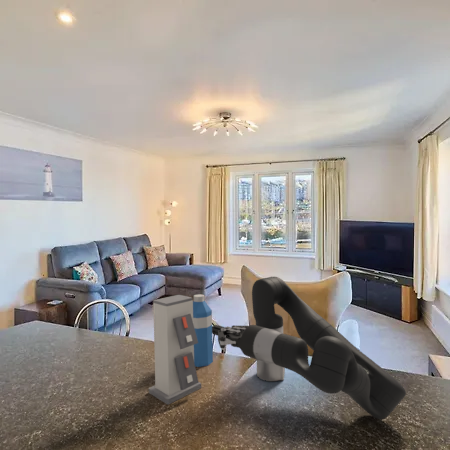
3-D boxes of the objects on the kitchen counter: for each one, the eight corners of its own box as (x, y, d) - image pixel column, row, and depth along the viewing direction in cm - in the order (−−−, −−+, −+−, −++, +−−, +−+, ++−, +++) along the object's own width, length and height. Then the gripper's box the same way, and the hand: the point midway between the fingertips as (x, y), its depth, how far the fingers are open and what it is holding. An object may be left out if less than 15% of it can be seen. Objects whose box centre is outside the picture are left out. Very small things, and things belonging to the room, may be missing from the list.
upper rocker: (180, 349, 97) (172, 318, 99) (195, 343, 101) (188, 314, 104) (183, 348, 96) (175, 317, 98) (198, 342, 100) (190, 313, 103)
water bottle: (214, 356, 129) (213, 292, 129) (211, 367, 120) (209, 298, 120) (190, 356, 130) (189, 292, 130) (185, 366, 121) (184, 298, 121)
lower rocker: (180, 389, 97) (174, 358, 99) (196, 382, 102) (189, 352, 103) (183, 390, 96) (177, 358, 98) (199, 382, 101) (192, 352, 102)
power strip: (148, 392, 103) (146, 300, 103) (181, 378, 112) (179, 293, 112) (167, 404, 96) (165, 305, 96) (201, 387, 105) (199, 297, 105)
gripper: (246, 369, 74) (196, 349, 86) (280, 351, 84) (230, 336, 96) (245, 336, 74) (195, 321, 86) (280, 322, 84) (230, 310, 96)
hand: (214, 329), depth 91 cm, fingers closed
